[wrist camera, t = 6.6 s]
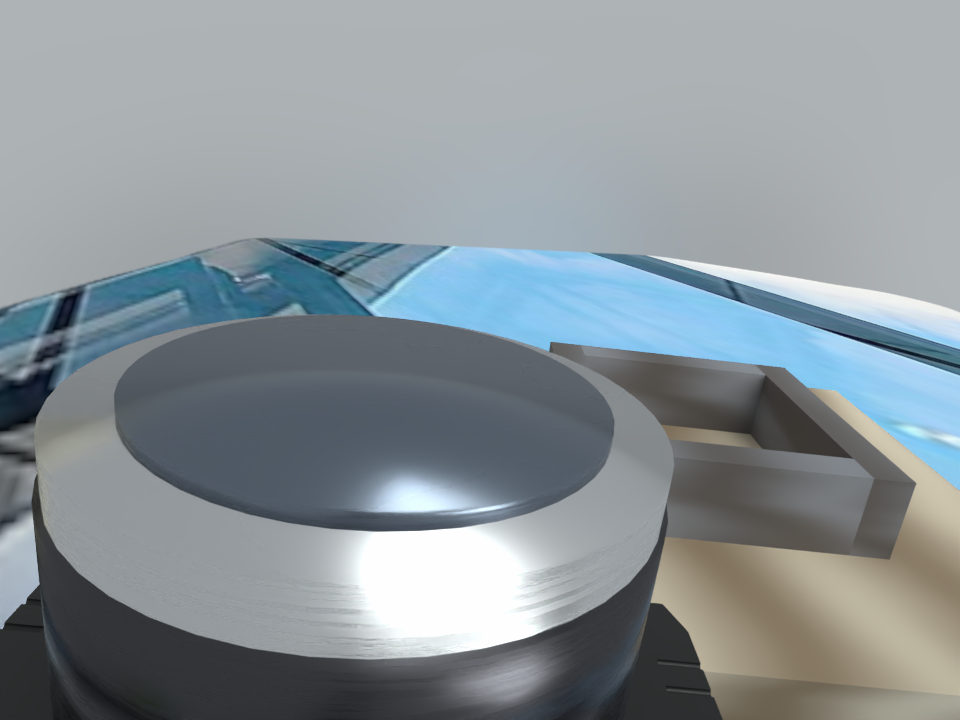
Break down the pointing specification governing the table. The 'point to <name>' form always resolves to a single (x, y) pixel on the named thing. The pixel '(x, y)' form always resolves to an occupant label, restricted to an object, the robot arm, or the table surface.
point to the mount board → (799, 544)
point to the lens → (345, 527)
